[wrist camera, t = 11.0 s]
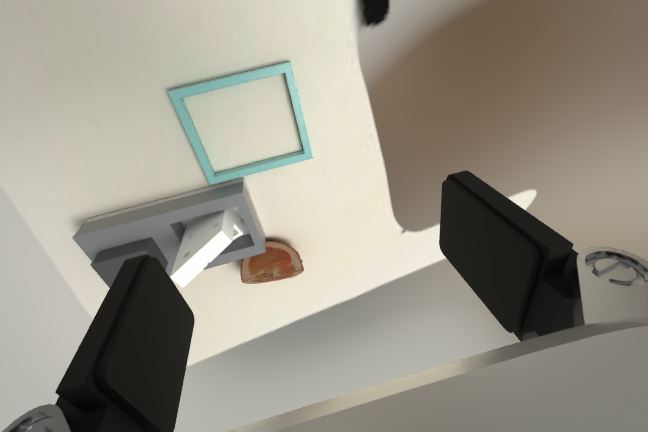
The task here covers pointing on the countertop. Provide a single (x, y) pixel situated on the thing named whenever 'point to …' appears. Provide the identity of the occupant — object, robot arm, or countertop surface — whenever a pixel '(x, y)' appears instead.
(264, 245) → the grey slotted holder
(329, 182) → the countertop surface
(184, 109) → the tray frame
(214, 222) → the white angled block
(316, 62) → the countertop surface
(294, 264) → the fruit slice
